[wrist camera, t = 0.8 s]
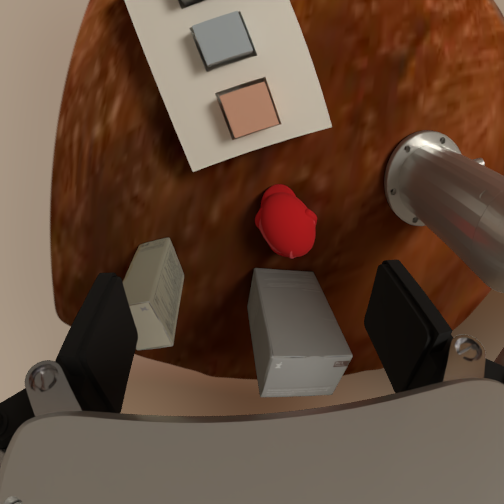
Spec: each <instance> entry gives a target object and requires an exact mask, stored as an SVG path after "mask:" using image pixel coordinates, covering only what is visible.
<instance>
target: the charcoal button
mask: <svg viewBox="0 0 504 504" xmlns="http://www.w3.org/2000/svg"><path fill="white" fill-rule="evenodd" d="M182 1H183V3H184V5H185V6H186V7H187V6H190V5H193V4H195V3H198V2H201V1H204V0H182Z"/></svg>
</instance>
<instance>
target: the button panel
mask: <svg viewBox="0 0 504 504" xmlns="http://www.w3.org/2000/svg"><path fill="white" fill-rule="evenodd" d="M124 1H125V4H126V6H127V9H128V12H129V14H130V17H131V20H132V22H133V25H134V27H135V30H136V33H137V35H138V38H139V40H140V43H141V46H142V48H143V51H144V53H145V56H146V58H147V61H148V63H149V66H150V68H151V71H152V74H153V76H154V79H155V81H156V84H157V86H158V89H159V91H160V94H161V96H162V98H163V101H164V103H165V106H166V108H167V111H168V113H169V116H170V118H171V121H172V123H173V125H174V128H175V130H176V133H177V135H178V138H179V140H180V142H181V145H182V147H183V150H184V152H185V154H186V157H187V159H188V162H189V164H190V166H191V169H192V171H193V172H195V171H197V170H200V169H203V168H205V167H208V166H211V165H213V164H216V163H219V162H222V161H224V160H227V159H230V158H233V157H236V156H239V155H242V154H244V153H247V152H250V151H253V150H256V149H259V148H263V147H266V146H269V145H272V144H275V143H278V142H282V141H285V140H288V139H291V138H295V137H298V136H302V135H305V134H308V133H312V132H316V131H319V130H323V129H326V128H330V127H332V125H331V122H330V118H329V114H328V111H327V108H326V104H325V101H324V97H323V94H322V91H321V87H320V84H319V81H318V78H317V75H316V72H315V69H314V66H313V63H312V60H311V57H310V54H309V51H308V48H307V45H306V43H305V40H304V37H303V34H302V32H301V29H300V26H299V24H298V21H297V18H296V16H295V13H294V11H293V8H292V6H291V3H290V1H289V0H204V1H201V2H198V3H195V4H193V5H190V6H187V7H186V6H185V5H184V3H183V1H182V0H124ZM235 11H238V13H239V15H240V18H241V20H242V23H243V25H244V28H245V30H246V33H247V36H248V38H249V41H250V43H251V46H252V49H253V51H252V53H251V54H249V55H246V56H243V57H240V58H237V59H233V60H230V61H227V62H224V63H222V64H219V65H216V66H213V67H209V66H208V65H207V63H206V61H205V58H204V55H203V53H202V50H201V48H200V45H199V43H198V40H197V38H196V35H195V33H194V30H193V28H192V26H193V25H196V24H199V23H201V22H204V21H207V20H210V19H213V18H216V17H219V16H222V15H225V14H228V13H232V12H235ZM264 81H265V84H266V87H267V90H268V92H269V95H270V98H271V101H272V104H273V107H274V110H275V113H276V116H277V119H278V122H279V124H277V125H274V126H271V127H268V128H265V129H261V130H258V131H255V132H252V133H249V134H246V135H243V136H240V137H237V138H235V137H234V134H233V131H232V129H231V126H230V123H229V121H228V118H227V115H226V113H225V110H224V107H223V105H222V102H221V99H220V97H219V96H221V95H224V94H227V93H230V92H232V91H235V90H238V89H241V88H245V87H248V86H251V85H254V84H257V83H260V82H264Z"/></svg>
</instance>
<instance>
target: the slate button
mask: <svg viewBox="0 0 504 504" xmlns="http://www.w3.org/2000/svg"><path fill="white" fill-rule="evenodd" d="M192 28H193V30H194V33H195V35H196V38H197V40H198V43H199V45H200V48H201V50H202V53H203V55H204V58H205V61H206V63H207V65H208V66H209V67H213V66H216V65H219V64H222V63H224V62H227V61H230V60H233V59H237V58H240V57H243V56H246V55H249V54H251V53H252V51H253V49H252V46H251V43H250V41H249V38H248V36H247V33H246V30H245V28H244V25H243V23H242V20H241V18H240V15H239V13H238V11H235V12H232V13H228V14H225V15H222V16H219V17H216V18H213V19H210V20H207V21H204V22H201V23H199V24H196V25H193V26H192Z"/></svg>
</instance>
